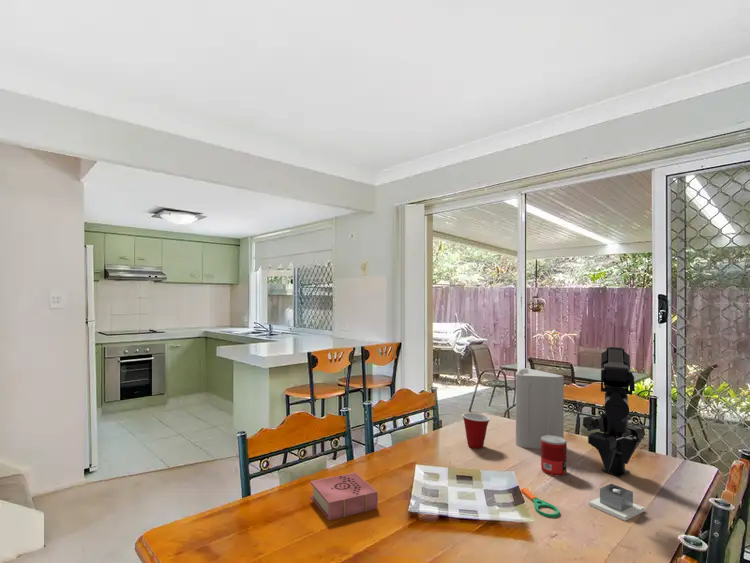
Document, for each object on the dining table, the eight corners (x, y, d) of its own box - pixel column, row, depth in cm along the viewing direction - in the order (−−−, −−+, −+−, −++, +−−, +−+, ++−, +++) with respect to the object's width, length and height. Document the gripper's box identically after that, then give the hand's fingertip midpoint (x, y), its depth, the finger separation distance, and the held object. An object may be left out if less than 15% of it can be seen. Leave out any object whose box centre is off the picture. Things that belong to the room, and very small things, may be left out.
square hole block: (611, 497, 127) (611, 483, 127) (632, 506, 122) (632, 491, 122) (599, 502, 124) (599, 488, 124) (621, 511, 119) (621, 496, 119)
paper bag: (500, 438, 180) (501, 370, 181) (527, 433, 187) (527, 368, 188) (537, 454, 163) (537, 379, 164) (564, 448, 170) (564, 376, 171)
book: (329, 523, 114) (330, 504, 114) (310, 498, 127) (310, 481, 127) (378, 511, 120) (378, 492, 121) (355, 488, 134) (355, 472, 134)
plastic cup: (496, 449, 168) (496, 417, 168) (472, 452, 164) (472, 420, 164) (479, 440, 178) (479, 410, 178) (456, 443, 174) (456, 413, 174)
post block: (608, 496, 130) (608, 479, 130) (644, 511, 121) (644, 492, 121) (589, 505, 124) (589, 487, 124) (625, 521, 116) (625, 501, 116)
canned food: (568, 477, 143) (568, 443, 143) (543, 475, 145) (543, 441, 145) (563, 468, 150) (563, 436, 151) (539, 466, 152) (539, 434, 152)
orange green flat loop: (564, 517, 118) (564, 511, 118) (544, 520, 117) (544, 513, 117) (532, 492, 133) (532, 486, 133) (514, 494, 132) (514, 488, 132)
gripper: (606, 400, 135) (606, 451, 135) (570, 408, 125) (570, 463, 125) (644, 409, 126) (644, 463, 125) (608, 418, 116) (608, 478, 115)
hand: (616, 466), depth 123 cm, fingers open, 9 cm apart
